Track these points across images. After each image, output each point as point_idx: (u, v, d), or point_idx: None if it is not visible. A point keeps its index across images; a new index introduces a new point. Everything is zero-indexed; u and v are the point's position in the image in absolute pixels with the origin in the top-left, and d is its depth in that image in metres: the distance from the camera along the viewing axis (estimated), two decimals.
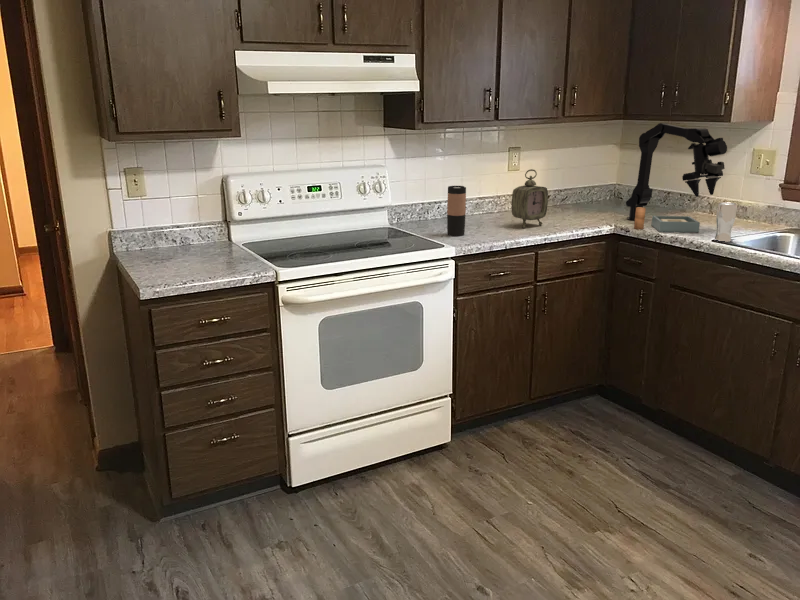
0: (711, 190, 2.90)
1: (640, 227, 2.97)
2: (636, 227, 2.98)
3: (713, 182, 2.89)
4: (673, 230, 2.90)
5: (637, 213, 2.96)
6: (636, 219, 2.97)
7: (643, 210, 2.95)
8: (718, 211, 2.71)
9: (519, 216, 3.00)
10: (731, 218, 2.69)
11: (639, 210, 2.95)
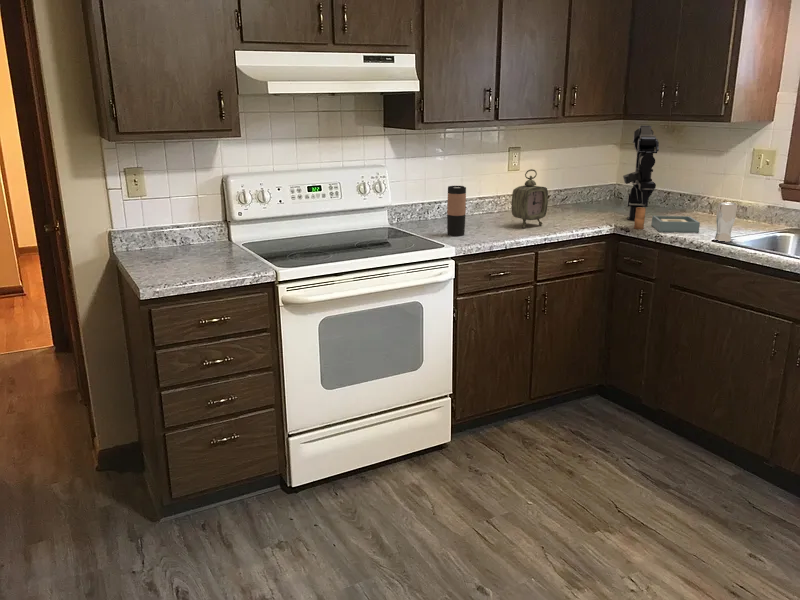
0: None
1: (640, 227, 2.97)
2: (636, 227, 2.98)
3: None
4: (673, 230, 2.90)
5: (637, 213, 2.96)
6: (636, 219, 2.97)
7: (643, 210, 2.95)
8: (718, 211, 2.71)
9: (519, 216, 3.00)
10: (731, 218, 2.69)
11: (639, 210, 2.95)
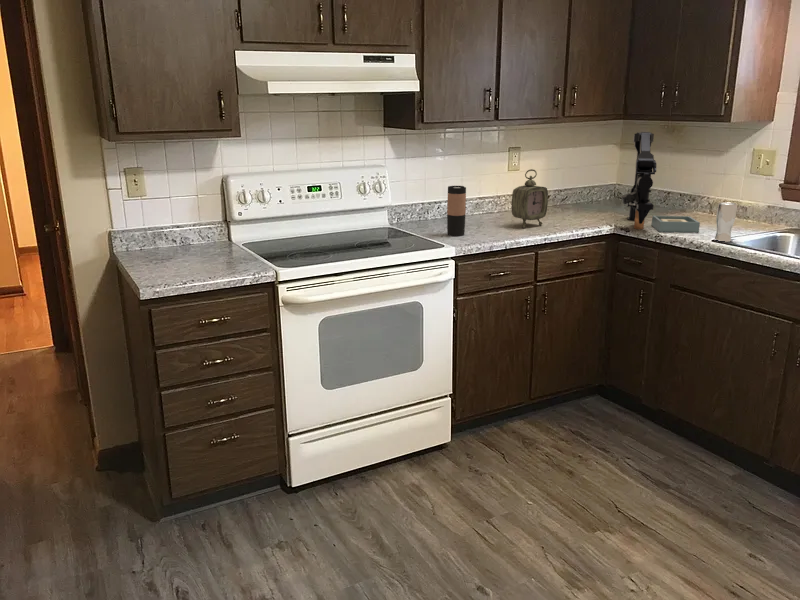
0: None
1: (640, 227, 2.97)
2: (636, 227, 2.98)
3: None
4: (673, 230, 2.90)
5: (637, 213, 2.96)
6: (636, 219, 2.97)
7: None
8: (718, 211, 2.71)
9: (519, 216, 3.00)
10: (731, 218, 2.69)
11: None
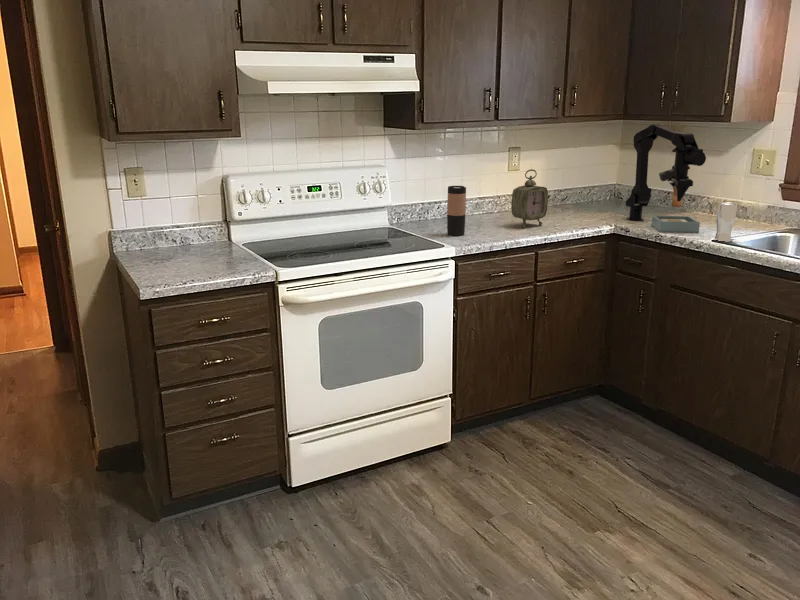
0: None
1: (678, 205, 2.92)
2: (674, 205, 2.93)
3: None
4: (673, 230, 2.90)
5: (675, 190, 2.92)
6: (674, 197, 2.93)
7: None
8: (718, 211, 2.71)
9: (519, 216, 3.00)
10: (731, 218, 2.69)
11: None
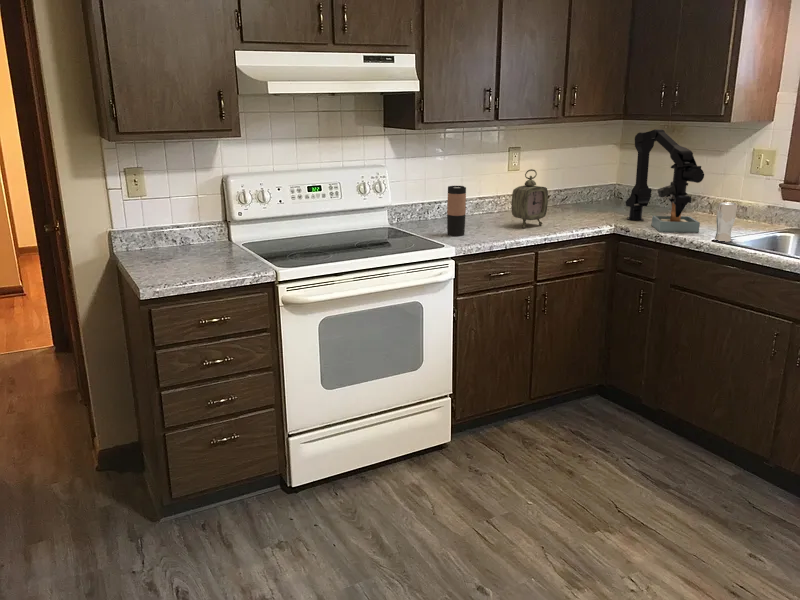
0: None
1: (677, 221, 2.95)
2: (672, 221, 2.95)
3: None
4: (673, 230, 2.90)
5: (674, 206, 2.94)
6: (673, 212, 2.95)
7: None
8: (718, 211, 2.71)
9: (519, 216, 3.00)
10: (731, 218, 2.69)
11: None
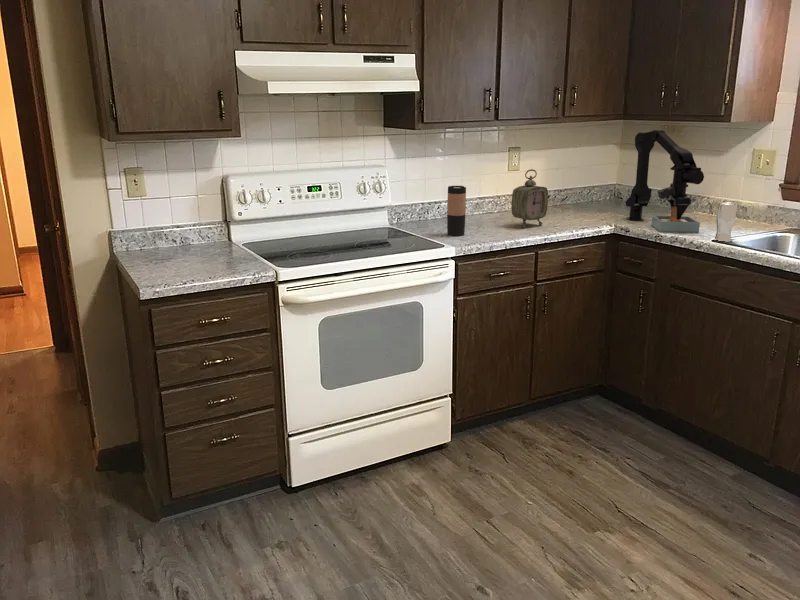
0: None
1: None
2: None
3: None
4: (673, 230, 2.90)
5: (673, 212, 2.95)
6: (672, 218, 2.95)
7: None
8: (718, 211, 2.71)
9: (519, 216, 3.00)
10: (731, 218, 2.69)
11: (675, 209, 2.94)
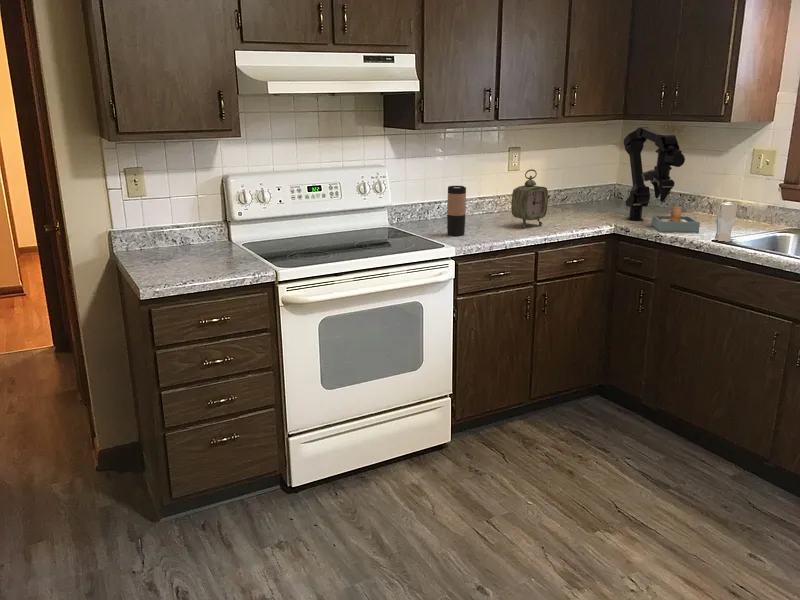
0: None
1: None
2: None
3: None
4: (673, 230, 2.90)
5: (673, 212, 2.94)
6: (672, 218, 2.95)
7: (679, 209, 2.93)
8: (718, 211, 2.71)
9: (519, 216, 3.00)
10: (731, 218, 2.69)
11: (675, 209, 2.93)
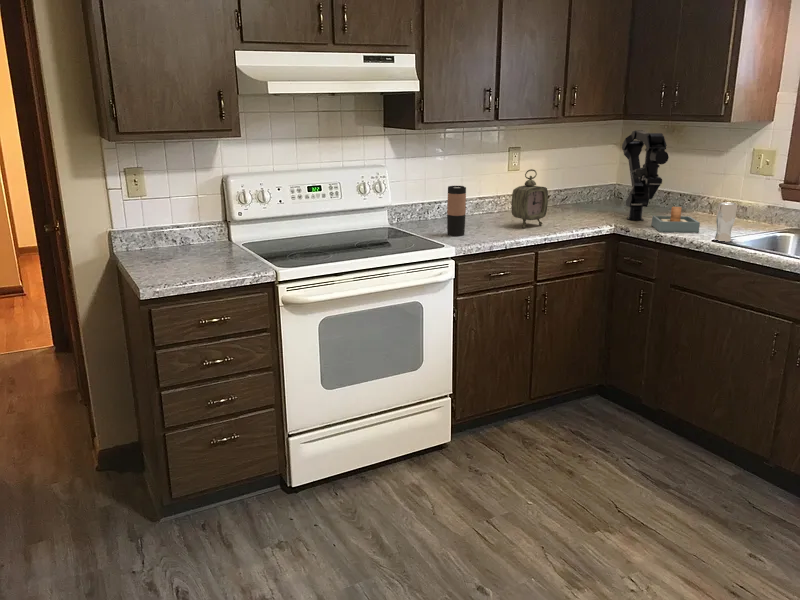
0: None
1: None
2: None
3: None
4: (673, 230, 2.90)
5: (673, 212, 2.94)
6: (672, 218, 2.95)
7: (679, 209, 2.93)
8: (718, 211, 2.71)
9: (519, 216, 3.00)
10: (731, 218, 2.69)
11: (675, 209, 2.93)
